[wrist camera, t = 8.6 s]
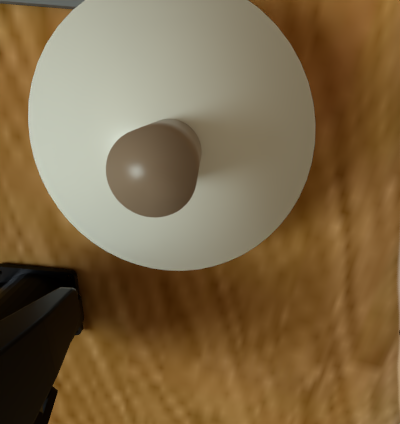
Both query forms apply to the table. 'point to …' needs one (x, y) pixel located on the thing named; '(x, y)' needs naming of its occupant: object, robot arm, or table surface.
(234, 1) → the lid
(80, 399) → the table surface
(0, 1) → the mat
